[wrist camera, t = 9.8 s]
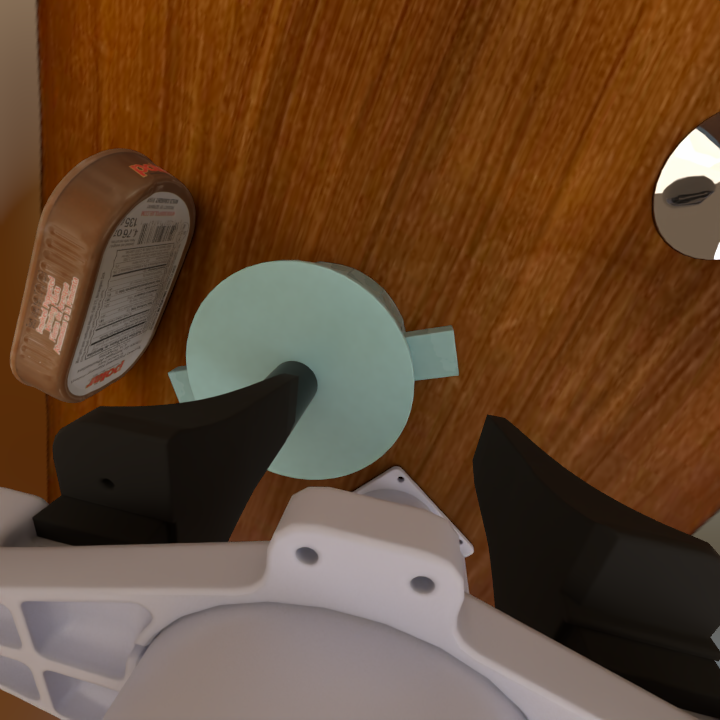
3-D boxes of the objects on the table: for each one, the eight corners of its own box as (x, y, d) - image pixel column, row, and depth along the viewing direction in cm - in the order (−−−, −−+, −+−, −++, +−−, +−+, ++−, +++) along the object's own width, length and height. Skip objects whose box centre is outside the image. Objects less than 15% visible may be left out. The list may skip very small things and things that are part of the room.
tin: (178, 160, 21) (40, 121, 14) (223, 190, 22) (112, 168, 14) (112, 353, 27) (-13, 404, 19) (148, 375, 27) (39, 435, 19)
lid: (429, 460, 20) (432, 533, 15) (236, 474, 22) (186, 540, 18) (393, 234, 16) (381, 237, 11) (166, 283, 19) (79, 301, 14)
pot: (458, 403, 24) (469, 455, 19) (242, 426, 27) (198, 475, 22) (437, 236, 21) (443, 240, 15) (195, 286, 24) (128, 304, 19)
